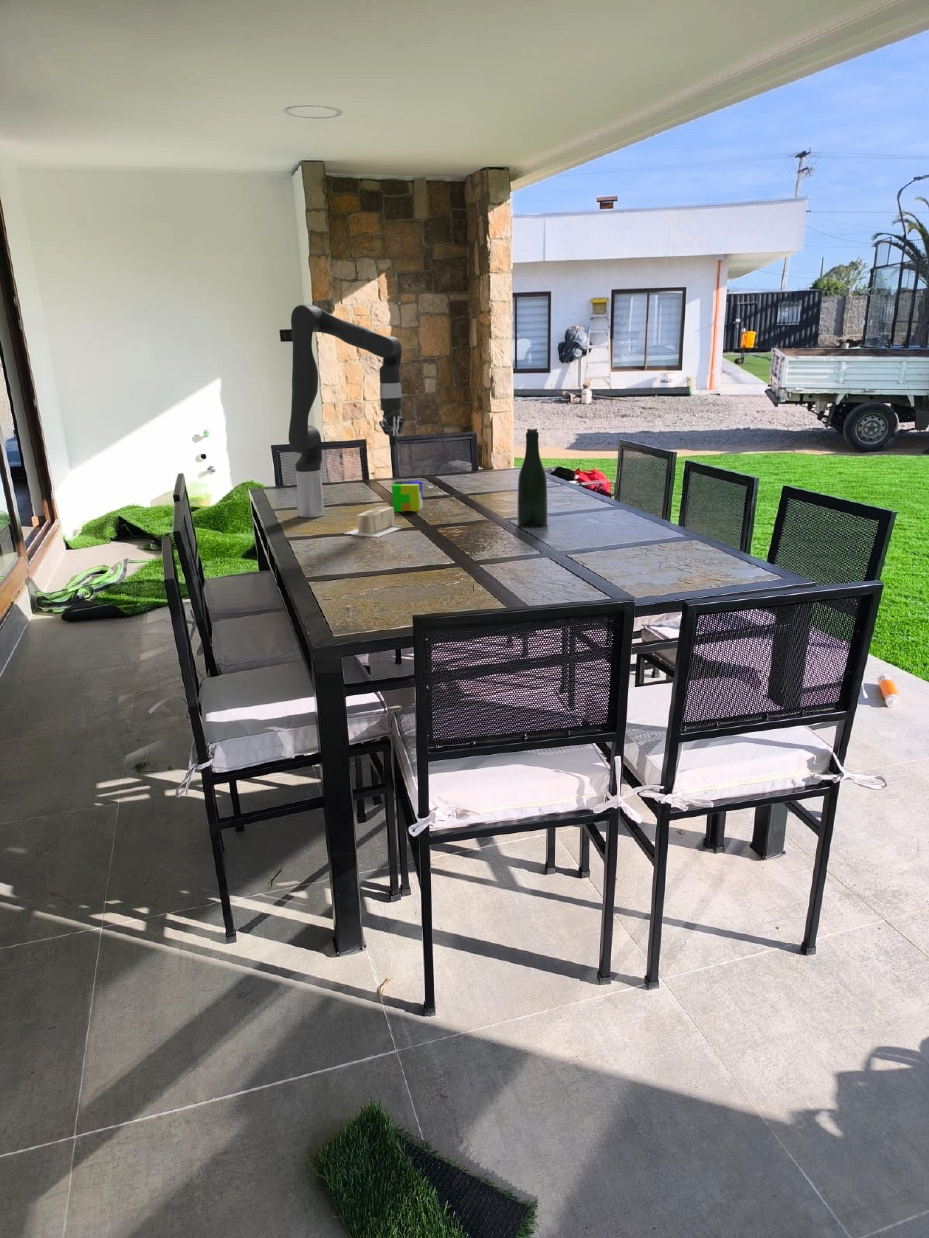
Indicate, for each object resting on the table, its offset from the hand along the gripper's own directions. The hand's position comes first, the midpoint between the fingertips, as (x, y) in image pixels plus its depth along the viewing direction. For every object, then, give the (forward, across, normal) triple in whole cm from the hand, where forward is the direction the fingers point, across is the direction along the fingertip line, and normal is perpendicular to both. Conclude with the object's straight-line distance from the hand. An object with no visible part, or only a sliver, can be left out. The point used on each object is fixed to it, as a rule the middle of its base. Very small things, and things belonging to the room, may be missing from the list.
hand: (393, 446), depth 298 cm
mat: (+26, +20, +4) cm, 33 cm away
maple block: (+22, +10, +3) cm, 25 cm away
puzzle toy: (+27, -18, -7) cm, 33 cm away
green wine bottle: (+26, -11, +50) cm, 57 cm away
